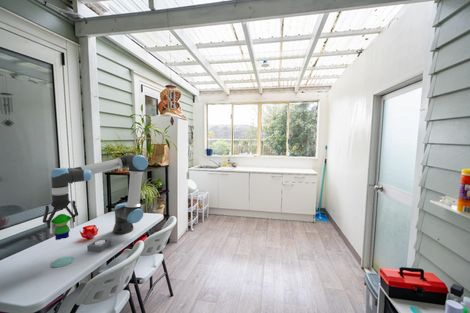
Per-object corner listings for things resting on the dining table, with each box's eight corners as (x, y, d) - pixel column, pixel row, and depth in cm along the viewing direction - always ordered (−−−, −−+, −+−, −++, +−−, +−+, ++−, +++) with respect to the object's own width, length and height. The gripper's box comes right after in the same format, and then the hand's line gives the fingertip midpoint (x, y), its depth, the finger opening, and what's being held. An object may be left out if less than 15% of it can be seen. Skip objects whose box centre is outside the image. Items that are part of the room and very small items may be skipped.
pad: (72, 254, 127) (72, 254, 127) (76, 261, 121) (76, 260, 121) (49, 262, 119) (49, 262, 119) (52, 270, 112) (52, 269, 112)
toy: (70, 233, 125) (70, 210, 124) (72, 238, 119) (71, 214, 118) (51, 237, 119) (50, 213, 118) (52, 243, 113) (51, 217, 112)
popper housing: (99, 243, 142) (99, 238, 142) (111, 244, 141) (111, 239, 140) (87, 251, 132) (87, 245, 132) (100, 252, 131) (100, 246, 130)
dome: (99, 243, 139) (99, 239, 139) (107, 244, 139) (107, 240, 139) (92, 248, 134) (92, 244, 133) (100, 248, 133) (100, 244, 133)
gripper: (80, 189, 128) (81, 223, 129) (34, 196, 111) (35, 234, 112) (84, 191, 123) (85, 226, 125) (35, 198, 106) (37, 238, 108)
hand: (61, 230), depth 118 cm, fingers closed on toy, 9 cm apart
